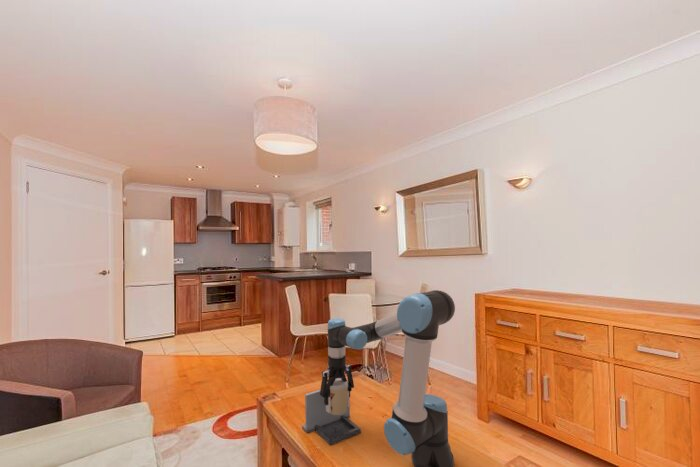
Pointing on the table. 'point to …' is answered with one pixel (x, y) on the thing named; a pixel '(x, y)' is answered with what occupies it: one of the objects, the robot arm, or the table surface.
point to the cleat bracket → (338, 430)
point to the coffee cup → (338, 396)
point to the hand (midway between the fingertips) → (337, 408)
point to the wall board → (318, 412)
